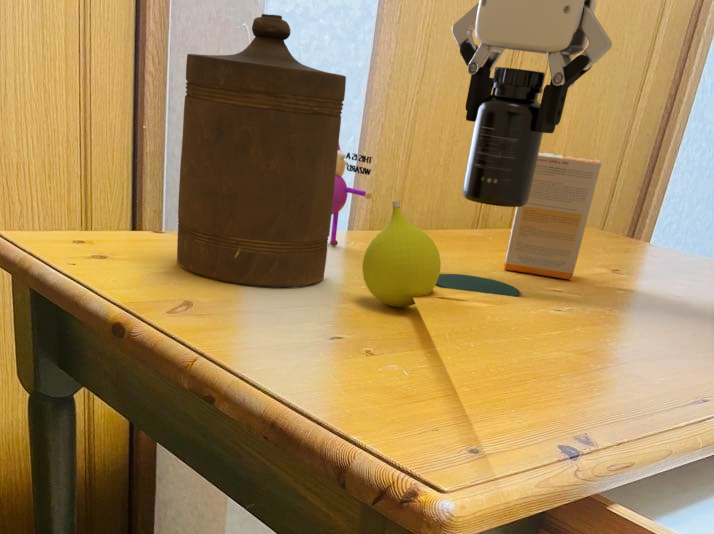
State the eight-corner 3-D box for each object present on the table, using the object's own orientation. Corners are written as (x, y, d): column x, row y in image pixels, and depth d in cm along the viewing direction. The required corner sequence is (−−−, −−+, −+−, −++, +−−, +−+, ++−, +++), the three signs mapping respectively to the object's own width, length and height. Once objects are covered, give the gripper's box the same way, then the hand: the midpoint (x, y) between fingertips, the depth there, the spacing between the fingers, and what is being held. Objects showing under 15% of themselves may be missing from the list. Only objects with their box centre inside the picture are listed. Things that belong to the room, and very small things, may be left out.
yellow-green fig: (363, 291, 82) (379, 182, 77) (434, 303, 81) (455, 193, 77) (352, 307, 76) (369, 189, 71) (429, 320, 75) (452, 202, 70)
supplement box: (569, 274, 104) (600, 159, 98) (571, 281, 100) (603, 162, 94) (503, 263, 105) (528, 148, 99) (502, 269, 101) (528, 151, 95)
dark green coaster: (509, 282, 95) (509, 280, 95) (528, 302, 87) (529, 300, 87) (425, 271, 95) (425, 269, 95) (437, 291, 86) (437, 289, 86)
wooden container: (273, 251, 94) (295, 22, 83) (352, 286, 84) (388, 29, 73) (151, 252, 86) (157, -1, 75) (221, 290, 76) (241, 3, 65)
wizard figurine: (369, 253, 100) (386, 143, 94) (353, 255, 98) (369, 142, 92) (298, 234, 106) (310, 128, 100) (282, 235, 104) (292, 127, 98)
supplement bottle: (470, 194, 90) (496, 66, 85) (533, 205, 88) (563, 75, 82) (451, 198, 85) (477, 62, 79) (517, 210, 83) (549, 71, 77)
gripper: (666, -85, 73) (606, 141, 82) (488, -89, 81) (451, 116, 90) (638, -105, 68) (577, 139, 76) (450, -107, 76) (415, 113, 85)
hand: (509, 125), depth 83 cm, fingers closed on supplement bottle, 6 cm apart
